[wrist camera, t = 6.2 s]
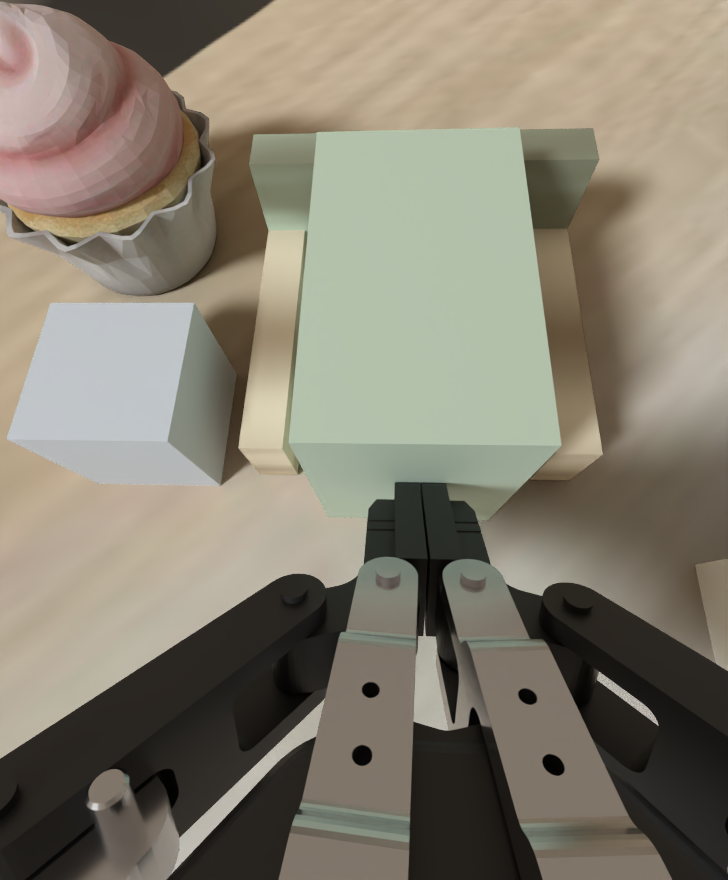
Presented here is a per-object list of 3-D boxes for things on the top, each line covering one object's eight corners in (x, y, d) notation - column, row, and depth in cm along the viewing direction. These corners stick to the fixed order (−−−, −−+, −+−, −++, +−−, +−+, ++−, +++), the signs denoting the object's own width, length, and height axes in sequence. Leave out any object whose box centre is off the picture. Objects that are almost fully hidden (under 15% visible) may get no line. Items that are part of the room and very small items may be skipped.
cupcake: (19, 273, 23) (-229, 35, 14) (150, 155, 26) (15, -112, 16) (158, 362, 21) (-26, 152, 12) (286, 224, 23) (220, -39, 14)
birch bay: (286, 254, 23) (253, 134, 17) (540, 253, 22) (592, 128, 16) (260, 474, 19) (206, 410, 13) (569, 480, 18) (651, 416, 12)
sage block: (340, 301, 22) (317, 131, 14) (472, 300, 21) (519, 127, 14) (328, 517, 18) (288, 442, 11) (487, 520, 18) (561, 445, 10)
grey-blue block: (125, 374, 21) (50, 303, 16) (237, 375, 21) (194, 302, 16) (99, 484, 19) (6, 439, 14) (221, 486, 19) (167, 441, 14)
